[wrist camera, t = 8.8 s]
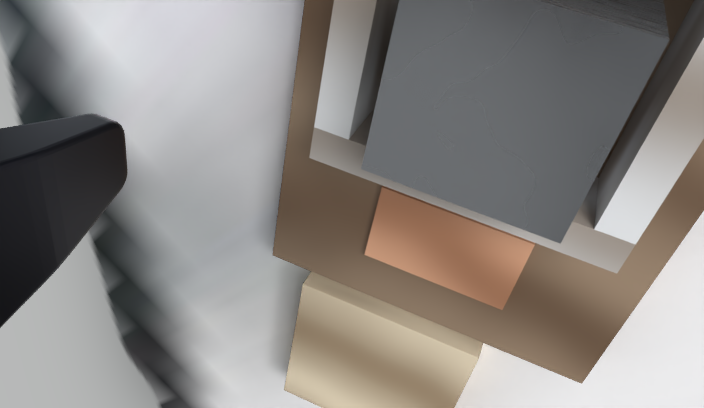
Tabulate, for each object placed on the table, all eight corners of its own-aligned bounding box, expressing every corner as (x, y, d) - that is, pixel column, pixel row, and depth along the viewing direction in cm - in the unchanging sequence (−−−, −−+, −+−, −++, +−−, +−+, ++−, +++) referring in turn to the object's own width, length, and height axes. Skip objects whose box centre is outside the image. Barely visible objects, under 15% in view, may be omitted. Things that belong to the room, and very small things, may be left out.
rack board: (584, 358, 22) (576, 444, 19) (286, 237, 24) (239, 297, 21) (1007, -268, 10) (1146, -289, 8) (375, -385, 13) (301, -435, 10)
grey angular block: (577, 134, 16) (560, 243, 12) (423, 82, 17) (361, 169, 13) (658, -33, 13) (668, 39, 9) (469, -86, 14) (407, -38, 10)
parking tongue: (438, 428, 27) (429, 456, 26) (298, 365, 28) (284, 390, 27) (486, 328, 22) (478, 358, 21) (318, 260, 24) (303, 283, 23)
